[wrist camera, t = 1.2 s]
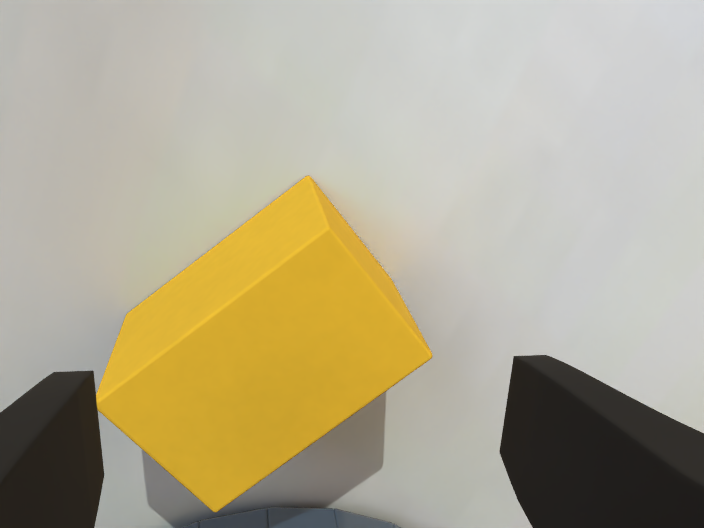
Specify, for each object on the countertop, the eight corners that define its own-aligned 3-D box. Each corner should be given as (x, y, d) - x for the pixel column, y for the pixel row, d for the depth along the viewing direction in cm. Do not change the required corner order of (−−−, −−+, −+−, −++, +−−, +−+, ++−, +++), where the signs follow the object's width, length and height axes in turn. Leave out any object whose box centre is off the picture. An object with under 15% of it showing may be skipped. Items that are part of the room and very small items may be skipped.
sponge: (392, 281, 21) (434, 357, 17) (220, 407, 22) (215, 515, 17) (308, 173, 19) (329, 225, 15) (124, 314, 20) (90, 405, 16)
